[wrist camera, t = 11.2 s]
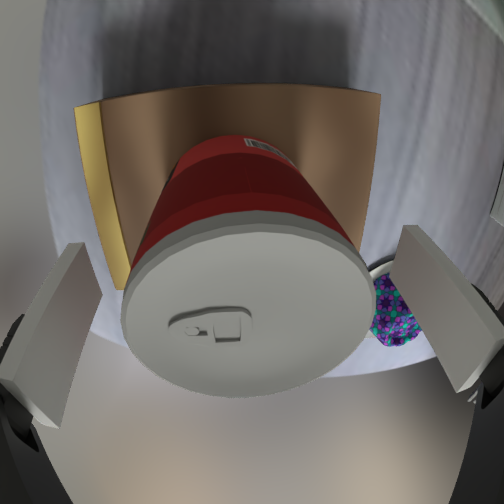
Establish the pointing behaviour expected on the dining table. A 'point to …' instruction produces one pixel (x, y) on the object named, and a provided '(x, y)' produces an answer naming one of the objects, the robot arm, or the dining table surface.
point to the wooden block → (214, 125)
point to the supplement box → (499, 203)
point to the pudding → (391, 311)
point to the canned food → (244, 277)
